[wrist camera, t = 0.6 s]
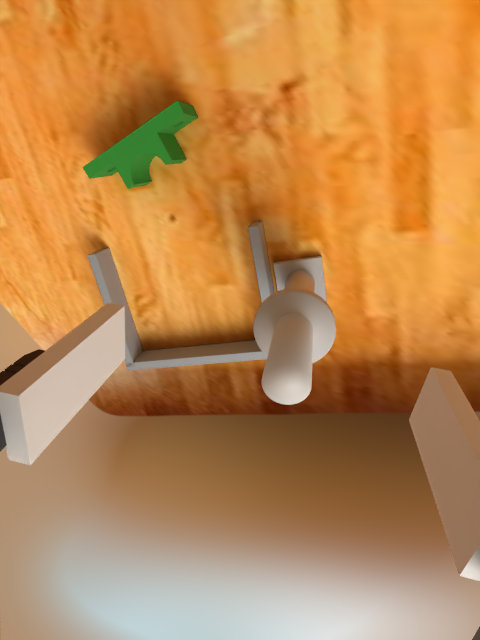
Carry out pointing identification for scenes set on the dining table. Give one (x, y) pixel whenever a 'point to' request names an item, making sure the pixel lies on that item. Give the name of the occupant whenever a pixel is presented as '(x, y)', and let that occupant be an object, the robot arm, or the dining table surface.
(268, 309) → the grey bent bar frame
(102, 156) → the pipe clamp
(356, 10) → the dining table surface
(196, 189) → the dining table surface
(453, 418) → the robot arm
